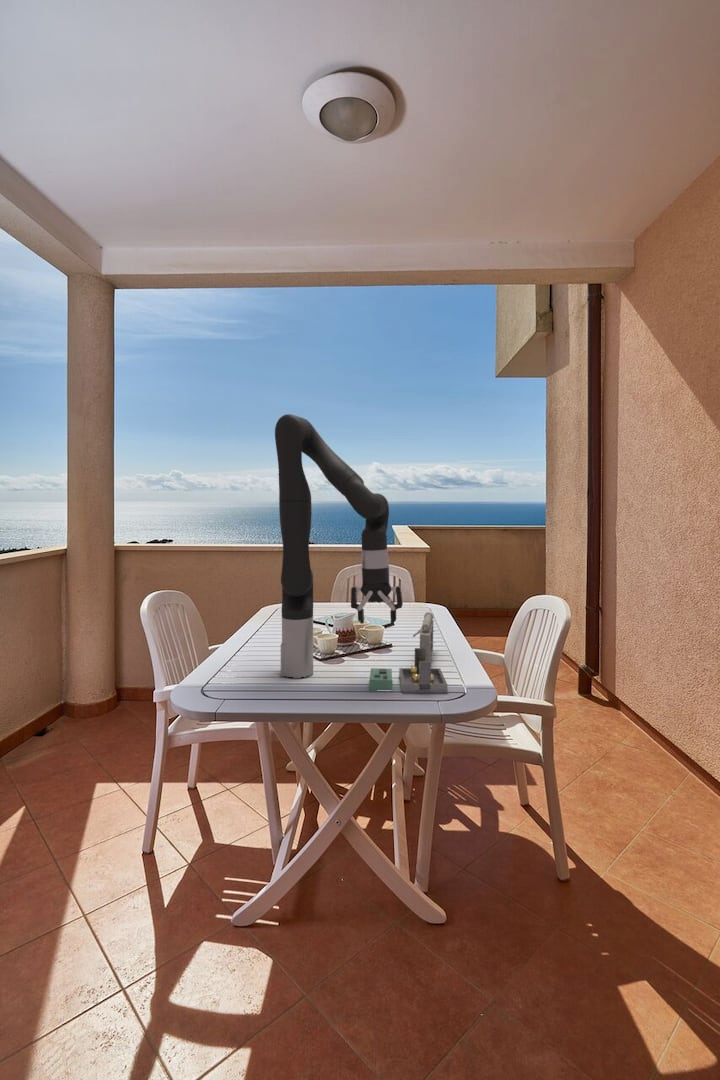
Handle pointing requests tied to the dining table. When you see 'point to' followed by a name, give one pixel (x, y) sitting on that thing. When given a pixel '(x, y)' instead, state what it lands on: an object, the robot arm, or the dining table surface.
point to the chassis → (422, 676)
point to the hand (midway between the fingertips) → (377, 623)
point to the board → (380, 679)
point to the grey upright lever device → (427, 636)
